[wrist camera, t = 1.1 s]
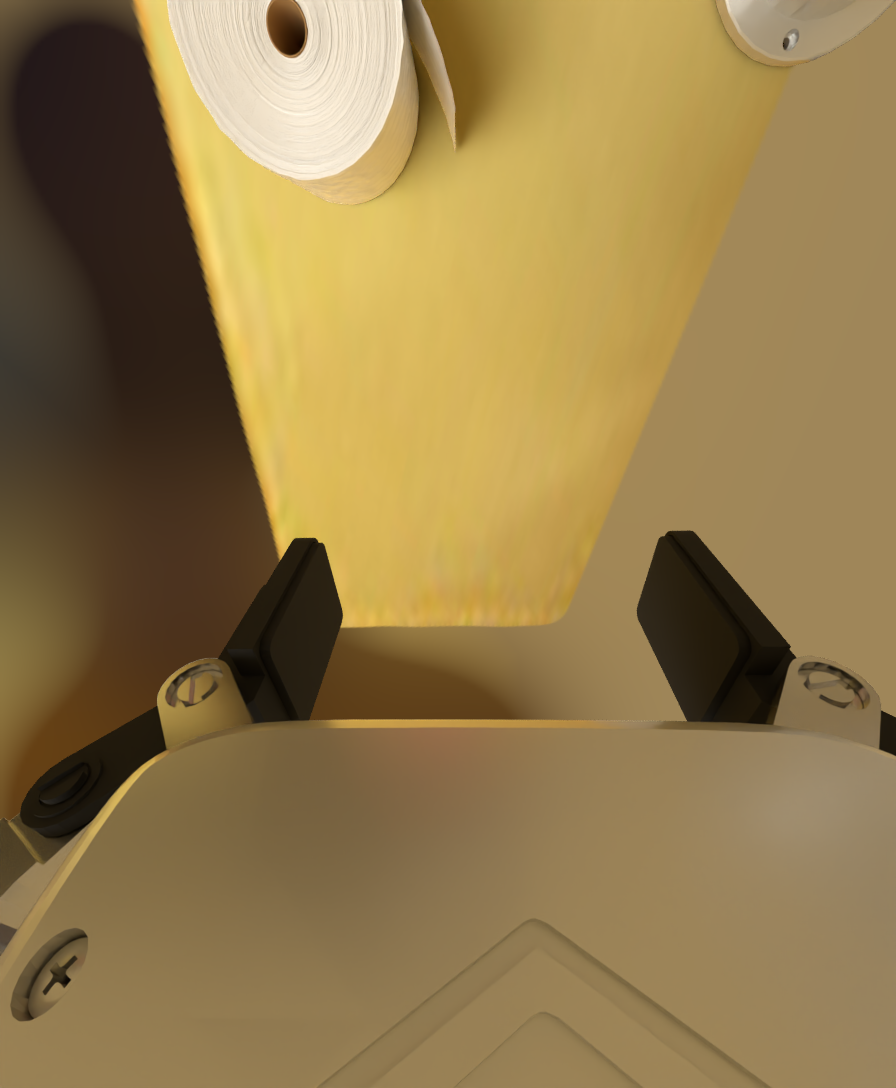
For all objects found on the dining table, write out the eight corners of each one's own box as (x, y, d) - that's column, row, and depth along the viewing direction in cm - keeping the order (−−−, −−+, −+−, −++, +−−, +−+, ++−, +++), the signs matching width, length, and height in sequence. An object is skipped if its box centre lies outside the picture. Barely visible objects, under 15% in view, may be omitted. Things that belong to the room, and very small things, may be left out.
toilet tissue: (222, 16, 25) (103, -113, 16) (406, -81, 23) (377, -286, 14) (305, 228, 30) (248, 212, 22) (458, 166, 28) (459, 123, 20)
